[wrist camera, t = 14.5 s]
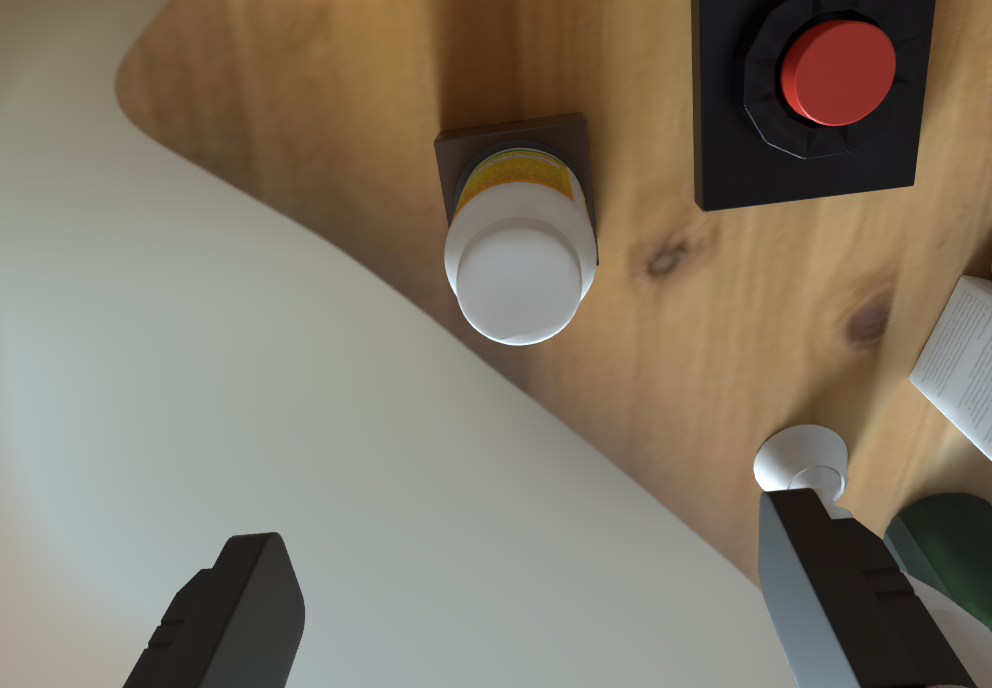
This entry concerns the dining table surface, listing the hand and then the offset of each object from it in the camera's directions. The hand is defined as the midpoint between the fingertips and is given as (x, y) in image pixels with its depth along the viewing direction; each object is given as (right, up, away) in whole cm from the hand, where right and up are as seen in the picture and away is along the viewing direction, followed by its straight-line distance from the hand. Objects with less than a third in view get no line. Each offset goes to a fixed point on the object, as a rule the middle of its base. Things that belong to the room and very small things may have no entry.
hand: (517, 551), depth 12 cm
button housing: (+13, +15, +18) cm, 27 cm away
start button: (+12, +14, +16) cm, 24 cm away
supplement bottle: (+1, +10, +19) cm, 21 cm away
